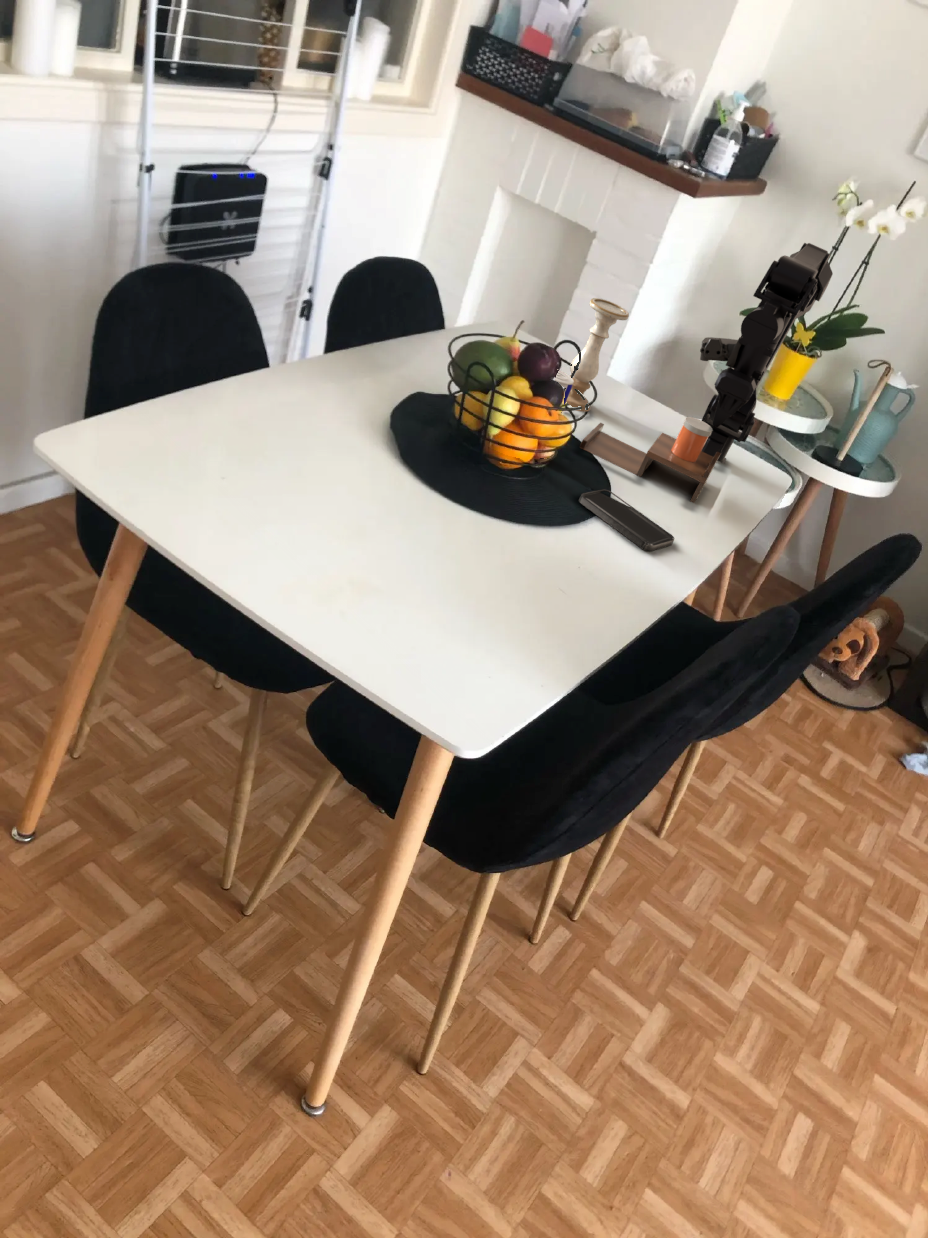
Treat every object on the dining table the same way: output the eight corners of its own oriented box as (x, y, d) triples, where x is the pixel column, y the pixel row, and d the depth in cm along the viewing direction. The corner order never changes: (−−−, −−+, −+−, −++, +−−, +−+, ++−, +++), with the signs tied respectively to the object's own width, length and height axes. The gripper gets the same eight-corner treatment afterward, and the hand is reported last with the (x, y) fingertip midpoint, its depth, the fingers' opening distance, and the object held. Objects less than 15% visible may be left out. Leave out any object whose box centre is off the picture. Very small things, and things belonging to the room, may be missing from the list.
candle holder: (541, 402, 191) (582, 300, 180) (554, 391, 198) (594, 292, 187) (583, 421, 190) (626, 320, 179) (594, 410, 197) (637, 312, 186)
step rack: (594, 435, 186) (610, 400, 182) (703, 487, 182) (721, 453, 179) (576, 452, 176) (592, 416, 172) (691, 509, 172) (710, 472, 169)
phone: (650, 546, 152) (578, 493, 159) (647, 552, 152) (576, 499, 159) (677, 538, 157) (607, 488, 164) (674, 544, 158) (604, 494, 165)
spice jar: (673, 444, 178) (688, 414, 175) (699, 457, 177) (714, 426, 174) (668, 452, 174) (683, 421, 170) (694, 465, 173) (710, 434, 170)
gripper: (726, 307, 177) (687, 387, 185) (708, 325, 162) (667, 412, 170) (784, 333, 175) (742, 414, 184) (772, 354, 160) (727, 440, 168)
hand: (719, 419), depth 176 cm, fingers open, 9 cm apart
